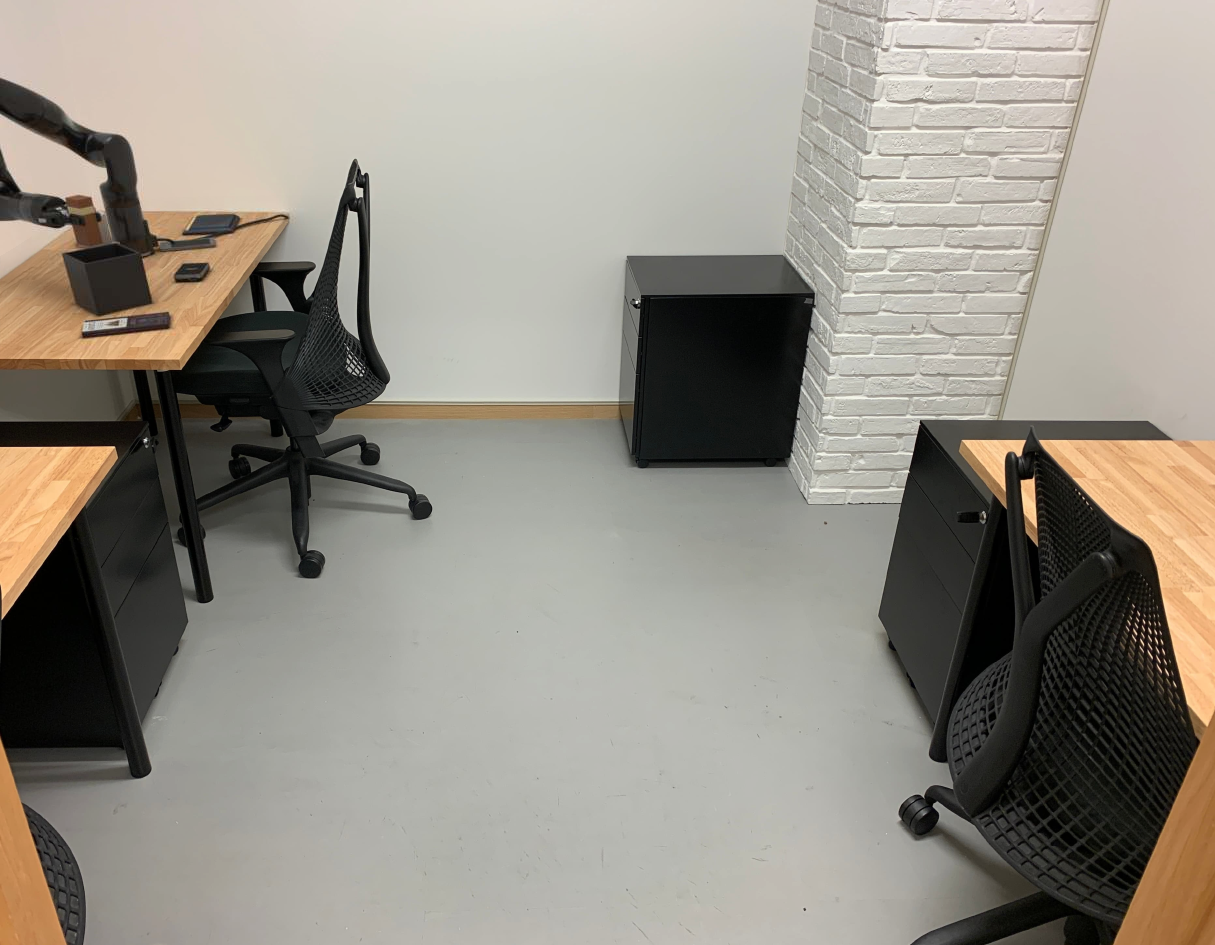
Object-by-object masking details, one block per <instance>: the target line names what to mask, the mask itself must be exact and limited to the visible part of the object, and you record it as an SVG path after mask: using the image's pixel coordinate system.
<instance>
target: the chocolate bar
mask: <svg viewBox="0 0 1215 945" xmlns="http://www.w3.org/2000/svg"><path fill="white" fill-rule="evenodd" d="M162 329H163V330H164V329H170V311H162V312H153V313H144V314H143V313H142V314H134V315H126V316H125V315H124V316H116V317H115V316H114V317H105V318H97V319H89V320H88V319H87V320H84V322H83V327H82V330H81V336H82V338H83V339H84V338H92V337H99V336H100V337H101V336H108V335H109V336H110V335H117V334H118V335H119V334H127V333H136V332H144V331H145V332H146V331H152V330H153V331H154V330H162Z"/></svg>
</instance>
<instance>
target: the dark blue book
mask: <svg viewBox="0 0 1215 945" xmlns="http://www.w3.org/2000/svg"><path fill="white" fill-rule="evenodd" d="M239 221H240V215H237V214H236V213H222V214H221V213H219V214H218V213H216V214H199V215H196V216H193V217H192V218H191V219H190V221H189V222H188V224H187V225H186V227H185V228H184V230H183V232H182V236H203V235H212V234H215V233H219V232H222V231H224V230H226V233H224V234H223V235H225V234H233V233H234V232H235V230H234V229H232V228H233V227H236V226H238V223H239Z"/></svg>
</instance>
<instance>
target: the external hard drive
mask: <svg viewBox="0 0 1215 945" xmlns="http://www.w3.org/2000/svg"><path fill="white" fill-rule="evenodd" d="M210 269H211V266H210V263H209V262H183V263H182V264H181V265H180V266H179V267H178V268H177V270H176V271H175V272H174V274H173V279H174V281H175V282H176V283H177V282H182V283H183V282H200V281H202V280H203V279H204V277H206V275H207V274H208V272H209V270H210Z"/></svg>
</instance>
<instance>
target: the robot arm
mask: <svg viewBox="0 0 1215 945" xmlns="http://www.w3.org/2000/svg"><path fill="white" fill-rule="evenodd" d="M0 115H1V116H3V117H4V118H6V119H7V120H10V121H11V122H13V123H15V124H17V125H18V126H20V127H21V128H24V129H26V130H28V131H29V132H31V133H33V134H35V135H37V136H40V137H42V138H44V139H46V140H47V141H48V140H49V141H51V142H53V143H55V144H57V145H60V146H62V147H64V148H66V149H67V150H70V151H71V152H72V153H74V154H75V155H77V156H79V157H80V158H82V159H84V160H85V161H86V162H88V163H90V164H92V165H93V166H95V167H98V168H103V169H106V176H107V179H106V180H105V181H103V182H101V183H100V184H99V185H98V186H99V187H98V188H99V192H100V196H101V200H102V204H103V208H104V211H105V212H104V213H105V215H106V219H107V223H108V227H109V231H110V235H111V239H112V243H111V244H113V243H119V244H121V245H123V246H126V247H128V248H130V249H133V250H135V251H137V252H140V253H141V256H142V258H145V257H148V256H150V255H153V254H155V249H154V248H157V247H160V244H159V242H167V241H168V242H171V243H175V242H177V241H178V240H173V239H171V238H167V237H158V236H157V235H156V234H153V233H151V231H150V227H149V222H148V220H147V219H145V218H144V214H143V209H142V205H141V201H140V197H139V192H138V174H137V167H136V162H135V161H136V160H135V155H134V151H133V148H132V146H131V144H130V142H129V141H128V139H127V138H126V137H125V136H123V135H121V134H118V133H110V132H102V131H96V130H93V129H90V128H88V127H86V126H84V125H82V124H80V123H77V122H76V121H74V120H73V119H72V118H71V117H69V115H68V114H67V113H66V112H65V110H64V109H63V108H62V107H61V106H60V105H58V104H57V103H55V102H54V101H52V100H51V99H50V98H47V97H46V96H43V95H41V94H40V93H38V92H36V91H34V90H32V89H30V88H28V87H25V86H24V85H20V84H19V83H15V82H13V81H10V80H9V79H6V78H3V77H0ZM94 209H95V213H96V217H97V221H98V222H101V221H102V220H101V219H102V218H101V214H100V213H99V212H96V211H97V208H96V207H95V206H94ZM277 218H285V219H287V220H289V219H290V216H288V215H287V214H284V213H281V214H280V213H279V214H276V215H273V216H271V217H266V218H262V219H255V220H253V221H248V222H245V223H242V224H237V225H236V227H233V228H232V229H234V231H235V230H238V229H240V228H241V229H242V228H243V227H246V226H247V227H248V226H251V225H255V224H258V223H259V224H260V223H264V222H269V221H272V220H274V219H277ZM14 221H22V222H25V223H31V224H33V225H36V226H41V227H46V228H52V229H62V228H64V227H66V226H72V225H73V224H74V225H79V226H85V225H86V223H85V219H84V217H83V216H79V215H74V214H73V215H71V214H70V213H69V212H68V208H67V204H66V200H65V199H63V198H61V197H60V196H54V195H48V194H43V193H34V192H27V191H22V189H21V188H20V186H19V185H18V184H17V182H16V181H15V179H14V177H13V176H12V174H11V172H10V171H9V169H8V166H7V162H6V160H5V157H4V153H3V151H2V148H1V146H0V222H14ZM224 233H226V230H224V231H222V232H219V233H215V234H208V235H204V236H201V237H197V238H192V240H194V239H201V238H215V237H218V236H221V235H225V234H224Z"/></svg>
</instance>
